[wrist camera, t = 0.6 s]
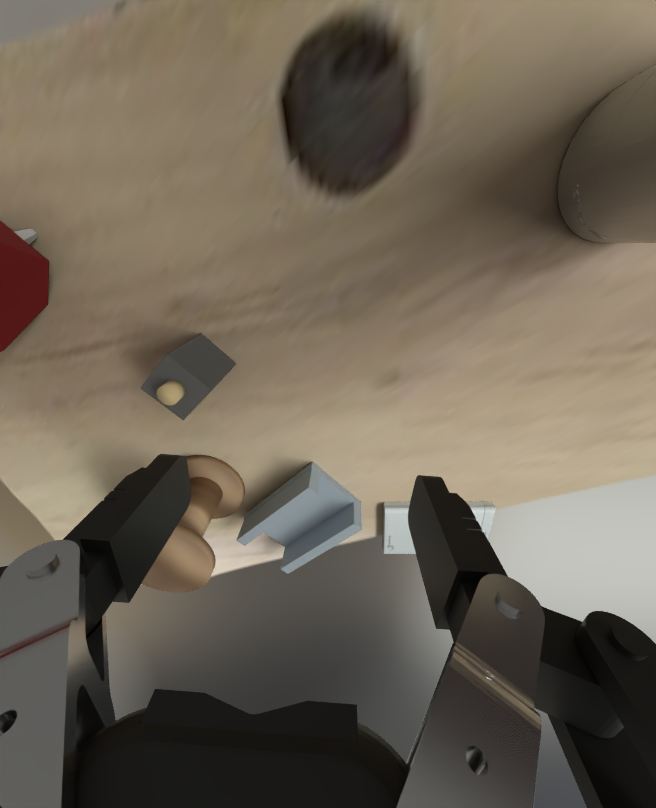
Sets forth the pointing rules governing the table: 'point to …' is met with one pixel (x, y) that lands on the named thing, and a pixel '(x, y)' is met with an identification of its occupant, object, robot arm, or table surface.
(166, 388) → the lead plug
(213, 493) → the bobbin
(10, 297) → the red toy figure
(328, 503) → the blue-gray u-shaped channel
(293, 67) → the table surface
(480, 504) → the hard drive
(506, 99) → the table surface
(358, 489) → the table surface
